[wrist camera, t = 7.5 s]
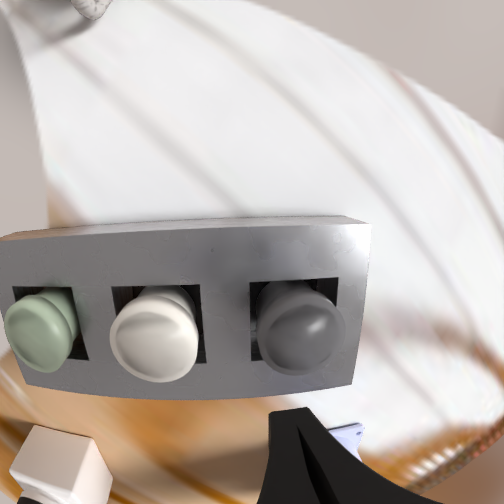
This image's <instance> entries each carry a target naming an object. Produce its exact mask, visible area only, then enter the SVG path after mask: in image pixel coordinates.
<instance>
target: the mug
mask: <svg viewBox="0 0 504 504" xmlns="http://www.w3.org/2000/svg"><path fill="white" fill-rule="evenodd" d="M70 1H71V3H72V4H73V6H74V7H75V8H76V10H77V11H79V12H80V13H81V14H82V15H83V16H85V17H87V18H89V19H93V20H96V19H98V18H100V17H101V16H102V15H103V13H104V12H105V10H106V9H107V7H108V5H109V4H110V2H111V1H112V0H70Z"/></svg>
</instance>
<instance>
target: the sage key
mask: <svg viewBox="0 0 504 504" xmlns="http://www.w3.org/2000/svg"><path fill="white" fill-rule="evenodd" d="M4 328H5V332H6V336H7V339H8V342H9V344H10V346H11V347H12V349H13V351H14V352H15V353H16V355H17V356H18V357H19V358H20V359H21V360H22V361H23V362H24V363H25V364H27V365H28V366H29V367H31V368H33V369H35V370H37V371H40V372H44V373H51V372H54V371H56V370H58V369H59V368H60V367H61V365H62V364H63V363H64V361H65V360H66V359H67V357H68V356H69V355H70V353H71V350H72V346H73V341H74V340H75V338H76V337H77V336H78V335H79V334H80V332H81V328H80V324H79V319H78V315H77V311H76V306H75V301H74V297H73V291H72V289H70V288H69V287H46V288H45V289H43V290H42V291H40V292H39V293H38V294H36V295H28V296H25V297H23V298H22V299H20V300H19V301H17V302H16V303H15V304H13V305H12V306H11V307H10V308H9V309H8V310H7V312H6V315H5V319H4Z"/></svg>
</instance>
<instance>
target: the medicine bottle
mask: <svg viewBox="0 0 504 504" xmlns="http://www.w3.org/2000/svg"><path fill="white" fill-rule="evenodd" d="M9 472H10V474H11V475H12V476H13V478H14V479H15V480H16V481H17V483H18V484H19V485H20V486H21V487H22V489H23V490H24V491H22V493H21V495H20V498H19V500H18V502H17V504H107V501H108V497H109V493H110V489H111V485H112V481H113V477H112V475H111V473H110V471H109V470H108V468H107V466H106V464H105V462H104V460H103V458H102V456H101V454H100V452H99V450H98V448H97V446H96V444H95V442H94V440H93V439H92V438H89V437H84V436H79V435H74V434H70V433H66V432H61V431H57V430H53V429H49V428H46V427H42V426H38V425H34V426H33V428H32V430H31V431H30V433H29V435H28V436H27V438H26V440H25V442H24V443H23V445H22V447H21V449H20V450H19V452H18V454H17V456H16V458H15V459H14V461H13V463H12V465H11V467H10V469H9Z"/></svg>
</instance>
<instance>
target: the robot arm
mask: <svg viewBox="0 0 504 504" xmlns="http://www.w3.org/2000/svg"><path fill="white" fill-rule="evenodd" d="M364 429H365V427H364V425H363V424H357V425H353V426H348V427H344V428H339V429H334V430H329V431H328V430H327V429H326V428H325V427H324V426H323V425H322V424H321V422H320V421H319V420H318V419H317V418H316V417H315V415H314V414H313V413H312V412H311V410H310V409H309V408H307V407H303V408H297V409H290V410H282V411H274V412H271V413H270V414H269V459H268V464H267V469H266V473H265V478H264V482H263V486H262V489H261V493H260V496H259V499H258V502H257V504H443V503H440V502H436V501H433V500H431V499H428V498H425V497H422V496H420V495H418V494H415V493H413V492H411V491H409V490H407V489H404V488H402V487H400V486H398V485H396V484H394V483H393V482H391V481H389V480H388V479H386V478H384V477H383V476H381V475H380V474H378V473H376V472H375V471H373V470H372V469H371V468H369V467H368V466H367V465H365V464H364V463H363V462H362V460H361V458H360V456H359V454H358V452H357V450H358V447H359V444H360V441H361V438H362V435H363V432H364Z"/></svg>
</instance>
